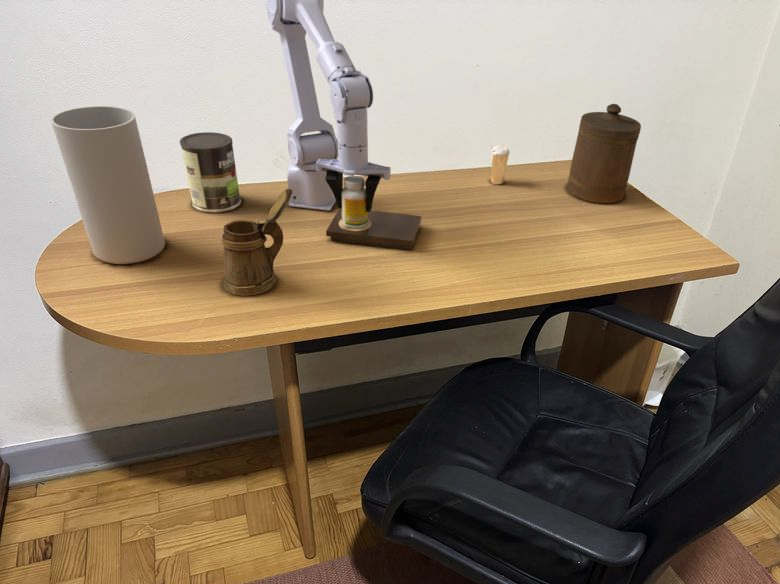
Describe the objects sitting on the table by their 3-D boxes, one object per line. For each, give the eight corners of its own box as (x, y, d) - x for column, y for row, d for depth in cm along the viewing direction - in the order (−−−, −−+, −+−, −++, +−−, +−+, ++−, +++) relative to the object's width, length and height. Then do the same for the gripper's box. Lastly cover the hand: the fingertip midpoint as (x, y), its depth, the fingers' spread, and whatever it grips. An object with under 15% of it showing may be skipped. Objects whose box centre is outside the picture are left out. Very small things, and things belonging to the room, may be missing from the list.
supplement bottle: (337, 221, 131) (335, 177, 125) (359, 215, 134) (358, 172, 128) (350, 231, 128) (349, 186, 122) (373, 225, 131) (372, 181, 125)
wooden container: (633, 193, 163) (656, 106, 150) (606, 209, 154) (627, 118, 140) (585, 176, 170) (602, 92, 157) (555, 190, 160) (571, 102, 147)
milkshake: (482, 179, 162) (486, 141, 156) (500, 177, 164) (505, 140, 158) (490, 186, 159) (494, 147, 153) (508, 184, 161) (513, 146, 155)
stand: (326, 241, 129) (325, 230, 127) (341, 217, 138) (340, 205, 137) (412, 251, 128) (413, 240, 127) (421, 226, 138) (421, 215, 136)
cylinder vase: (85, 244, 120) (42, 111, 105) (152, 229, 127) (121, 102, 112) (105, 272, 113) (61, 134, 98) (175, 254, 120) (145, 123, 105)
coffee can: (249, 197, 143) (240, 135, 134) (228, 215, 134) (217, 151, 126) (206, 190, 143) (195, 129, 135) (183, 209, 135) (169, 144, 127)
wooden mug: (301, 293, 113) (292, 200, 102) (222, 297, 110) (204, 201, 99) (300, 268, 120) (291, 178, 109) (225, 271, 116) (209, 179, 106)
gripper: (309, 145, 117) (314, 212, 126) (386, 153, 117) (385, 220, 125) (320, 133, 123) (324, 198, 131) (392, 141, 123) (392, 205, 131)
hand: (354, 208), depth 129 cm, fingers closed on supplement bottle, 5 cm apart
